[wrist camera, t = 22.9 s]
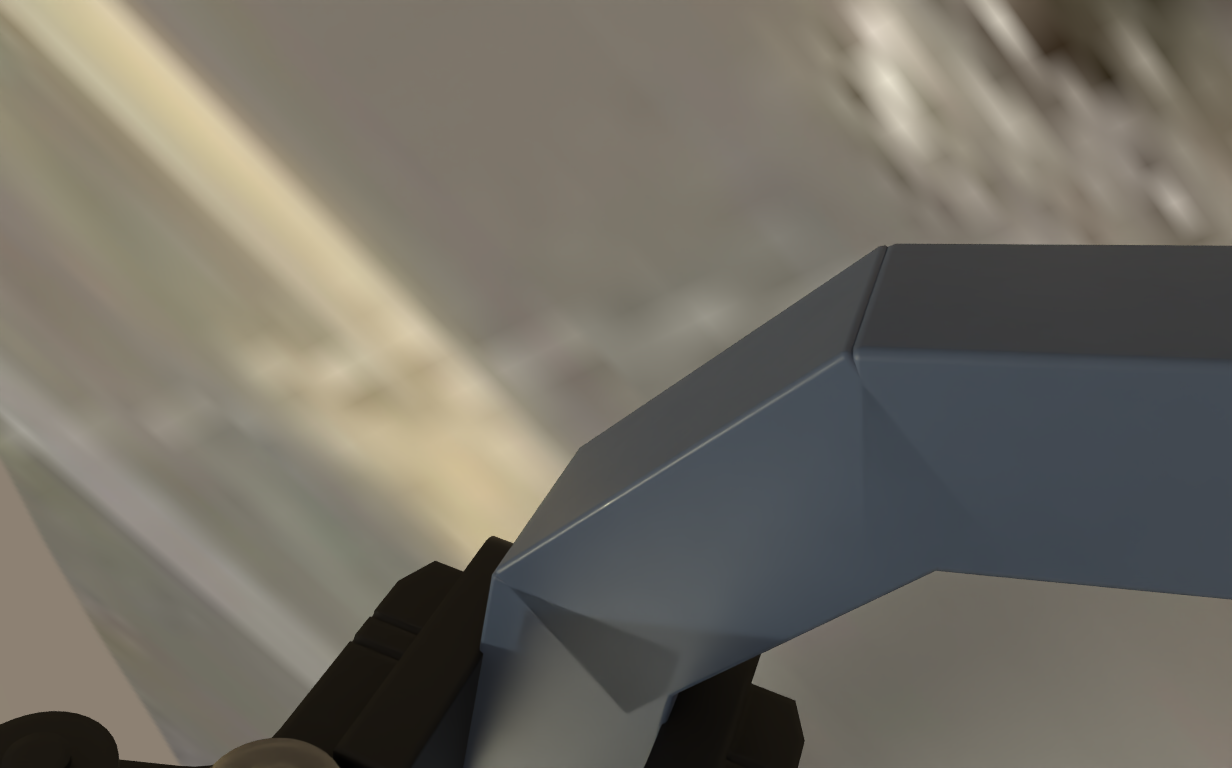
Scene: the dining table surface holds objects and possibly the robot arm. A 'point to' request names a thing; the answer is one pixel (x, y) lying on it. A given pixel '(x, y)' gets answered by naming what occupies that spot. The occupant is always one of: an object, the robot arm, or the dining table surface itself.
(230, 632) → the dining table surface
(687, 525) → the slate ring
